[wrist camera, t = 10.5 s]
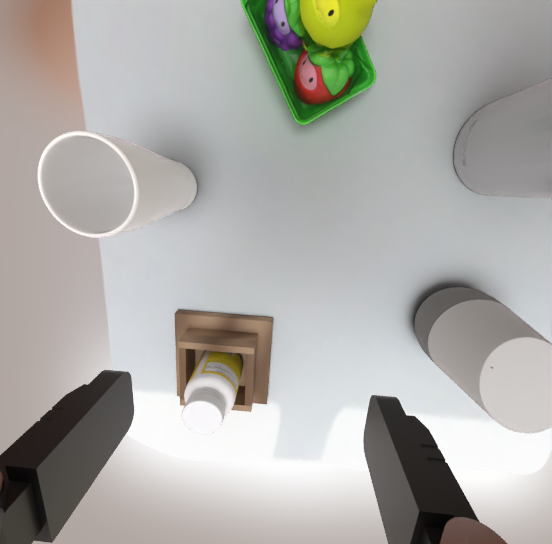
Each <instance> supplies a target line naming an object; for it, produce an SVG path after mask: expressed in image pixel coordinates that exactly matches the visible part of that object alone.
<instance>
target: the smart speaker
mask: <svg viewBox="0 0 552 544" xmlns="http://www.w3.org/2000/svg"><path fill="white" fill-rule="evenodd" d="M414 325H415V333H416V337H417V339H418V342H419V344H420V346H421V347H422V349H423V350H424V352H425V353H426V354H427V355H428V357H429V358H430V359H431V360H432V361H433V362H434V363H435V364H436V365H437V366H438V367H439V368H440V369H441V370H442V371H443V372H444V373H445V374H446V375H447V376H448V377H449V378H450V379H451V380H453V381H454V382H455V383H456V384H457V385H458V386H459V387H460V388H461V389H462V390H463V391H464V392H465V393H466V394H467V395H468V396H469V397H471V398H472V399H473V400H474V401H475V402H476V403H477V404H478V405H479V406H480V407H481V408H482V409H483V410H484V411H485V412H487V413H488V414H489V415H490V416H491V417H492V418H493V419H494V420H495V421H496V422H498V423H499V424H500V425H502V426H504V427H505V428H507V429H510V430H512V431H515V432H520V433H537V432H541V431H544V430H546V429H548V428H550V427H552V344H551V343H550V342H549V341H548V340H546V339H545V338H544V337H543V336H542V335H540V334H539V333H538V332H537V331H535V330H534V329H533V328H532V327H531V326H529V325H528V324H527V323H526V322H525V321H523V320H522V319H521V318H520V317H518V316H517V315H516V314H515V313H514V312H512V311H511V310H510V309H509V308H507V307H506V306H505V305H503V304H502V303H500V302H499V301H497V300H496V299H494V298H493V297H491V296H489V295H487V294H485V293H483V292H481V291H478V290H475V289H471V288H465V287H451V288H446V289H443V290H440V291H438V292H436V293H434V294H432V295H431V296H429V297H428V298H427V299H426V300H425V301H424V302H423V303H422V304H421V306H420V307H419V309H418V311H417V314H416V317H415V324H414Z"/></svg>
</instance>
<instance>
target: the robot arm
mask: <svg viewBox="0 0 552 544" xmlns="http://www.w3.org/2000/svg"><path fill="white" fill-rule="evenodd" d="M454 166H455V169H456V172H457V175H458V177H459V178H460V180H461V181H462V183H463V184H464V185H465V186H467V187H468V188H469V189H471V190H472V191H474V192H476V193H479V194H483V195H495V196H512V197H528V198H547V199H552V78H550V79H548V80H546V81H543V82H541V83H538V84H536V85H533V86H531V87H529V88H526V89H524V90H521V91H519V92H516V93H514V94H511V95H509V96H507V97H504V98H502V99H499V100H497V101H495V102H492V103H490V104H488V105H486V106H484V107H483V108H481V109H479V110H478V111H477V112H476V113H475V114H474V115H472V116H471V117H470V118H469V120H468V121H467V122H466V123H465V125H464V126H463V128H462V130H461V131H460V133H459V135H458V138H457V141H456V144H455V149H454ZM133 415H134V404H133V392H132V381H131V375H130V373H129V372H123V371H112V370H104V371H102V372H101V373H100V374H99V375H98V376H97V377H96V378H95V379H94V380H93V381H92V382H91V383H90V384H88V385H85V384H84V385H82V386H81V387H79V388H77V389H75V390H74V391H72V392H70V393H68V394H67V395H65V396H64V397H63V398H62V399H61V400H60V401H59V402H58V403H57V404H56V405H55V406H53V407H52V410H49V411H48V412H47V413H46V414H45V415H44V416H43V417H41V419H40V421H37V422H36V423H35V424H34V425H33V426H32V427H31V428H30V429H28V430H27V431H26V432H25V433H24V434H23V435H22V436H21V437H20V438H19V439H18V440H16V441H15V442H14V443H13V444H12V445H11V446H10V447H9V448H8V449H7V450H6V451H5V452H4V453H2V454H1V455H0V544H31V543H32V542H33V541H43V542H51V543H52V542H53V541H54V539H55V538H56V536H57V535H58V533H59V532H60V530H61V529H62V527H63V526H64V524H65V523H66V522H67V520H68V519H69V517H70V516H71V514H72V512H73V511H74V510H75V508H76V507H77V505H78V504H79V502H80V501H81V499H82V498H83V496H84V495H85V493H86V492H87V491H88V489H89V488H90V486H91V485H92V483H93V482H94V480H95V478H96V477H97V476H98V474H99V473H100V471H101V470H102V468H103V467H104V465H105V464H106V462H107V461H108V459H109V458H110V456H111V455H112V454H113V452H114V451H115V449H116V448H117V446H118V445H119V443H120V442H121V440H122V438H123V437H124V436H125V434H126V433H127V431H128V430H129V428H130V426H131V423H132V420H133ZM364 452H365V457H366V460H367V464H368V468H369V472H370V476H371V479H372V483H373V487H374V491H375V495H376V498H377V502H378V506H379V510H380V513H381V517H382V521H383V525H384V528H385V532H386V537H387V540H388V544H507V543H506V542H505V541H504V540H503V539H502V538H501V537H500V536H499V535H498V534H496V533H495V532H494V531H493V530H492V529H490V528H489V527H487V526H485V525H484V524H482V523H480V522H479V520H478V519H477V517H476V515H475V513H474V511H473V509H472V508H471V506H470V504H469V502H468V500H467V499H466V497H465V495H464V493H463V491H462V489H461V488H460V486H459V484H458V482H457V480H456V479H455V477H454V475H453V473H452V471H451V469H450V468H449V466H448V464H447V463H445V459H444V457H443V455H442V453H441V451H440V449H438V446H437V444H436V442H435V440H434V438H433V437H432V435H431V433H430V431H429V430H428V429H427V428H426V427H425V426H424V425H423V424H422V423H421V422H420V421H419V420H418V419H417V418H416V417H415V416H407V415H406V414H405V412H404V410H403V408H402V406H401V404H400V402H399V400H398V399H397V398H396V397H388V396H377V395H372V396H371V398H370V403H369V408H368V414H367V419H366V424H365V430H364Z"/></svg>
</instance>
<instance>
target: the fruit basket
mask: <svg viewBox="0 0 552 544" xmlns="http://www.w3.org/2000/svg"><path fill="white" fill-rule="evenodd" d="M376 2H377V0H241V5H242V7H243V9H244V11H245V14H246V16H247V18H248V20H249V22H250V24H251V26H252V28H253V30H254V32H255V35H256V37H257V39H258V41H259V43H260V45H261V48H262V50H263V52H264V54H265V56H266V58H267V61H268V63H269V65H270V67H271V70H272V72H273V74H274V76H275V79H276V80H277V82H278V85H279V87H280V89H281V91H282V93H283V95H284V98H285V100H286V102H287V104H288V106H289V109H290V111H291V113H292V115H293V117H294V119H295V121H296V122H297V123H298V124H300V125H307V124H309V123H311V122H312V121H314V120H315V119H317V118H319V117H320V116H322V115H324V114H325V113H327V112H329V111H330V110H332V109H334V108H335V107H337V106H339V105H340V104H342V103H344V102H346V101H347V100H349V99H351V98H353V97H354V96H356V95H358V94H360V93H362V92H363V91H365V90H367V89H369V88H370V87H371V86H372V85H373V84H374V82H375V79H376V71H375V69H374V66H373V64H372V62H371V59H370V57H369V54H368V51H367V49H366V46H365V44H364V41H363V39H362V36H361V34H362V32H363V31H364V29H365V28H366V26H367V24H368V22H369V19H370V17H371V14H372V11H373V7H374V5H375V3H376Z"/></svg>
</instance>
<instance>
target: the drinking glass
mask: <svg viewBox="0 0 552 544" xmlns="http://www.w3.org/2000/svg"><path fill="white" fill-rule="evenodd" d="M38 185H39V190H40V193H41V196H42V198H43V201H44V202H45V205H46V206H47V208H48V209H49V211H50V212H51V214H52V215H53V216H54V217H55V218H56V219H57V220H58V221H59V222H60V223H61V224H62V225H64V226H65V227H66V228H68V229H69V230H71V231H73V232H75V233H77V234H80V235H83V236H87V237H93V238H102V237H108V236H113V235H118V234H123V233H127V232H131V231H134V230H137V229H140V228H143V227H145V226H147V225H149V224H152V223H154V222H156V221H158V220H160V219H162V218H164V217H166V216H168V215H170V214H172V213H174V212H176V211H180V210H183V209H185V208H187V207H188V206H189V205H191V203H192V202H193V201H194V199H195V196H196V193H197V183H196V179H195V177H194V175H193V173H192V172H191V170H190V169H189V168H188V167H186V166H185V165H184V164H182V163H180V162H177V161H174V160H170V159H168V158H166V157H164V156H161V155H159V154H157V153H155V152H153V151H150V150H148V149H146V148H144V147H142V146H139V145H137V144H135V143H132V142H129V141H126V140H123V139H120V138H117V137H113V136H108V135H103V134H98V133H93V132H88V131H72V132H68V133H64V134H62V135H60V136H58V137H56V138H55V139H54V140H52V141H51V142H50V143H49V144H48V145H47V147H46V148H45V150H44V151H43V153H42V155H41V158H40V161H39V165H38Z"/></svg>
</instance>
